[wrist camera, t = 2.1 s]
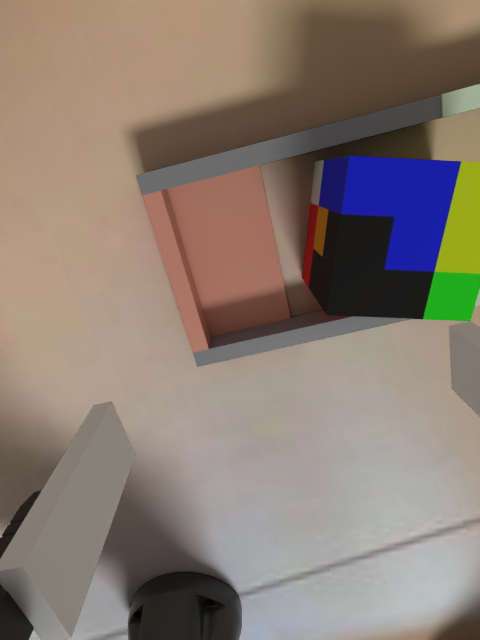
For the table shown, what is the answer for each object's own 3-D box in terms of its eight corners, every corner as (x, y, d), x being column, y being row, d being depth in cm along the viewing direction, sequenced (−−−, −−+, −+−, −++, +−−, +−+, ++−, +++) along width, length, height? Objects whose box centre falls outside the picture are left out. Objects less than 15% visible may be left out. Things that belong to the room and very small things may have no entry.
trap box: (200, 352, 37) (195, 377, 33) (144, 175, 31) (129, 175, 27) (539, 275, 35) (586, 291, 30) (551, 67, 29) (612, 47, 24)
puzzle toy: (314, 161, 31) (349, 155, 22) (432, 167, 31) (516, 164, 22) (302, 277, 35) (326, 315, 25) (407, 282, 35) (470, 321, 26)
